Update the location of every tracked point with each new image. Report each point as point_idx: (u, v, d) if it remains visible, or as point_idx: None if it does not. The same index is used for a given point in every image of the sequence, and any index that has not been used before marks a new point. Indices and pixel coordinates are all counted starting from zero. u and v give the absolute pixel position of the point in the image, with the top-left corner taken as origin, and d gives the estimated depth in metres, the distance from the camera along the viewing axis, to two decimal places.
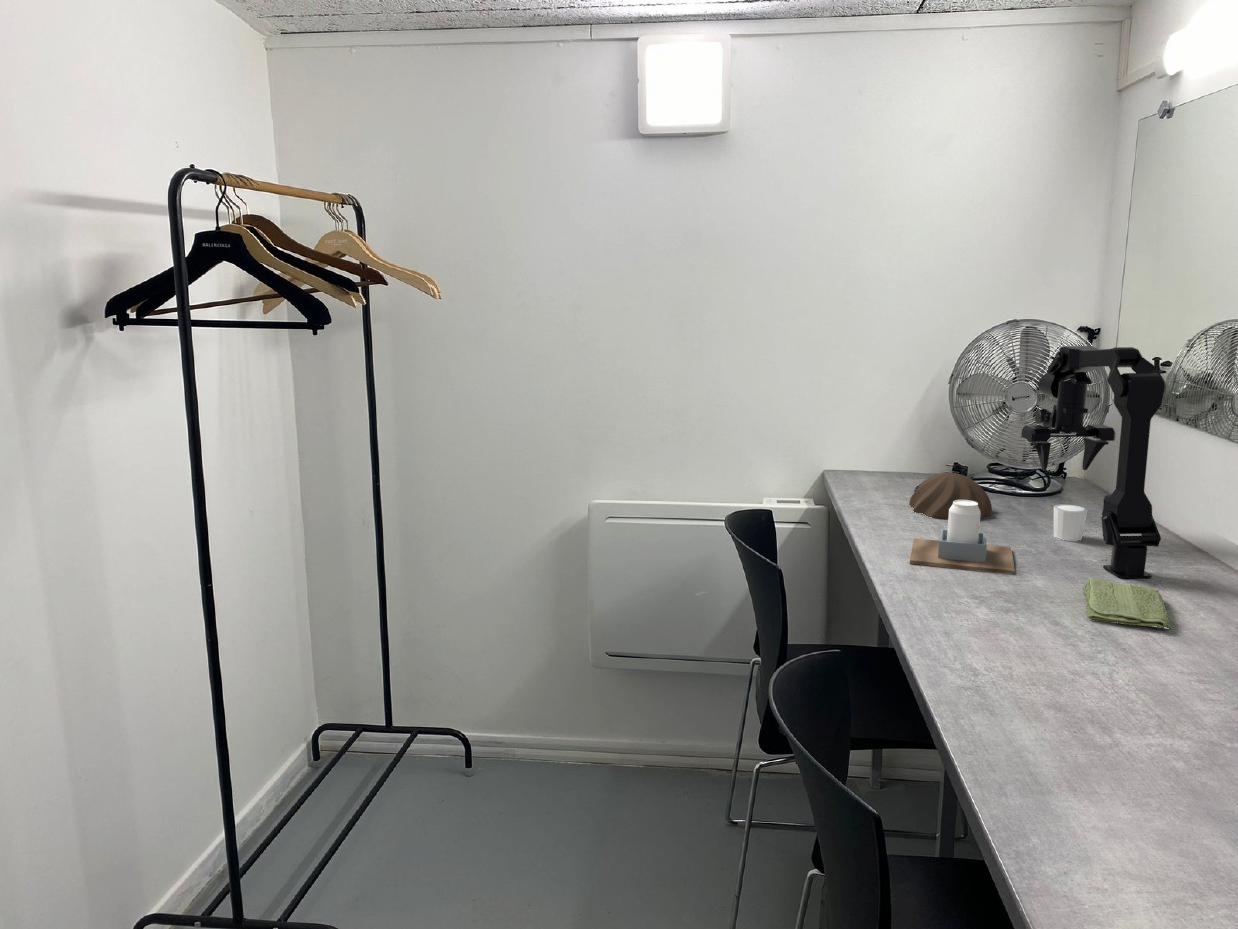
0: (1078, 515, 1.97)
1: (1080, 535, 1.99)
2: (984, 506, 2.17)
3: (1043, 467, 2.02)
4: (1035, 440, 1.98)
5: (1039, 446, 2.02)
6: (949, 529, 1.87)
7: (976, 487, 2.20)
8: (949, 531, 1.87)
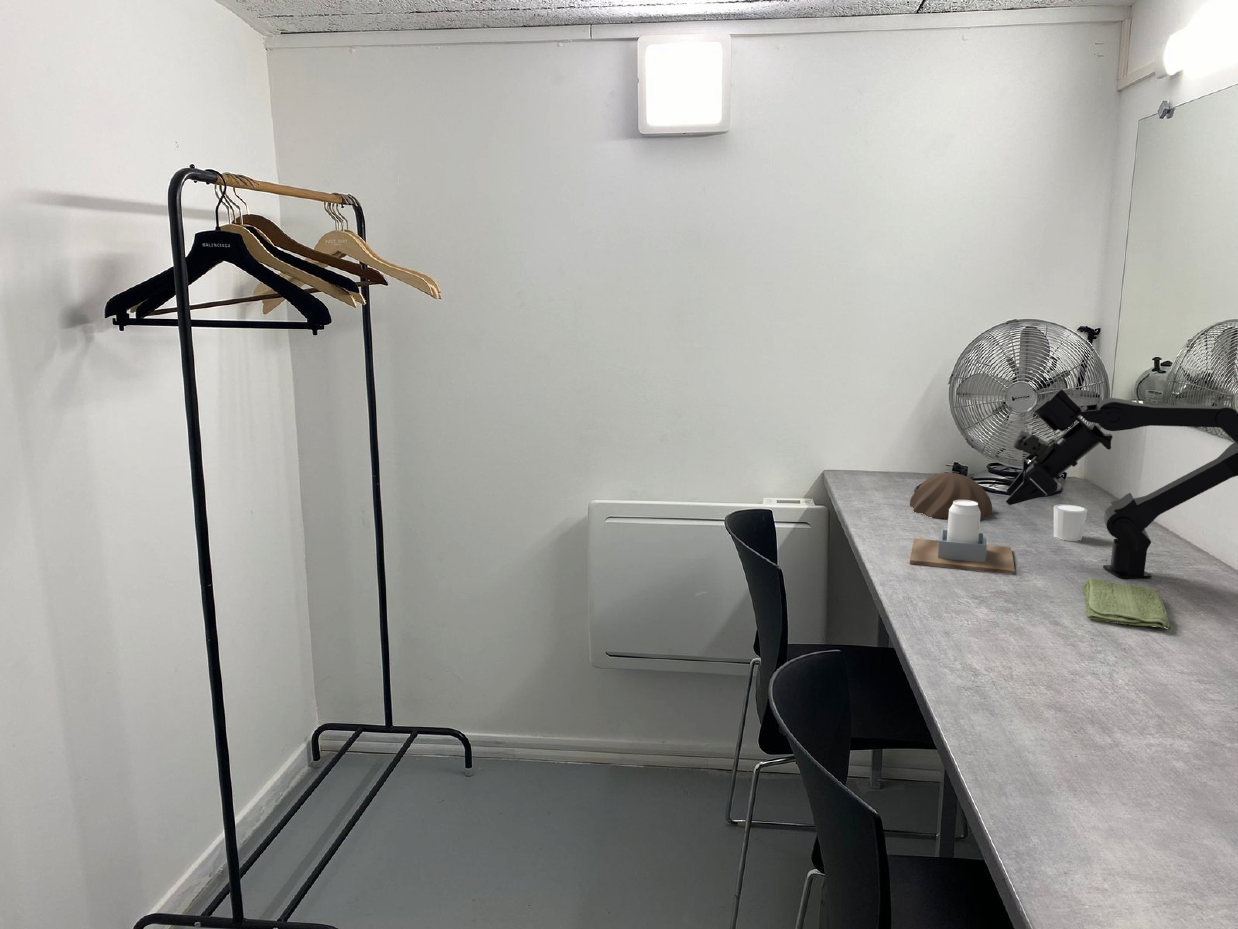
0: (1078, 515, 1.97)
1: (1080, 535, 1.99)
2: (984, 506, 2.17)
3: (1012, 502, 1.79)
4: (1050, 494, 1.73)
5: (1027, 485, 1.76)
6: (949, 529, 1.87)
7: (976, 487, 2.19)
8: (949, 531, 1.87)
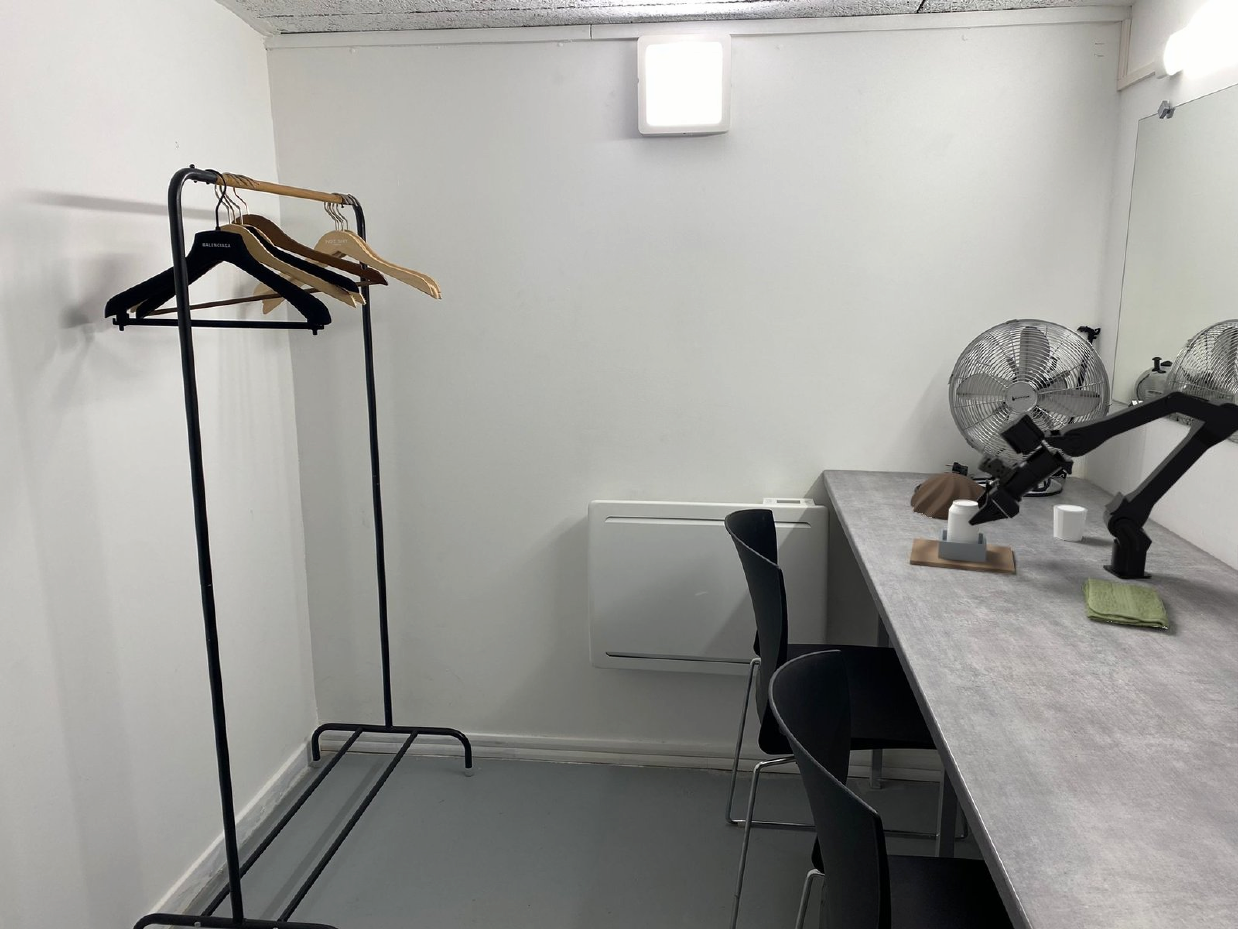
0: (1078, 515, 1.97)
1: (1080, 535, 1.99)
2: None
3: (974, 523, 1.82)
4: (1012, 517, 1.75)
5: (990, 507, 1.79)
6: (949, 529, 1.87)
7: (977, 487, 2.19)
8: (949, 531, 1.87)
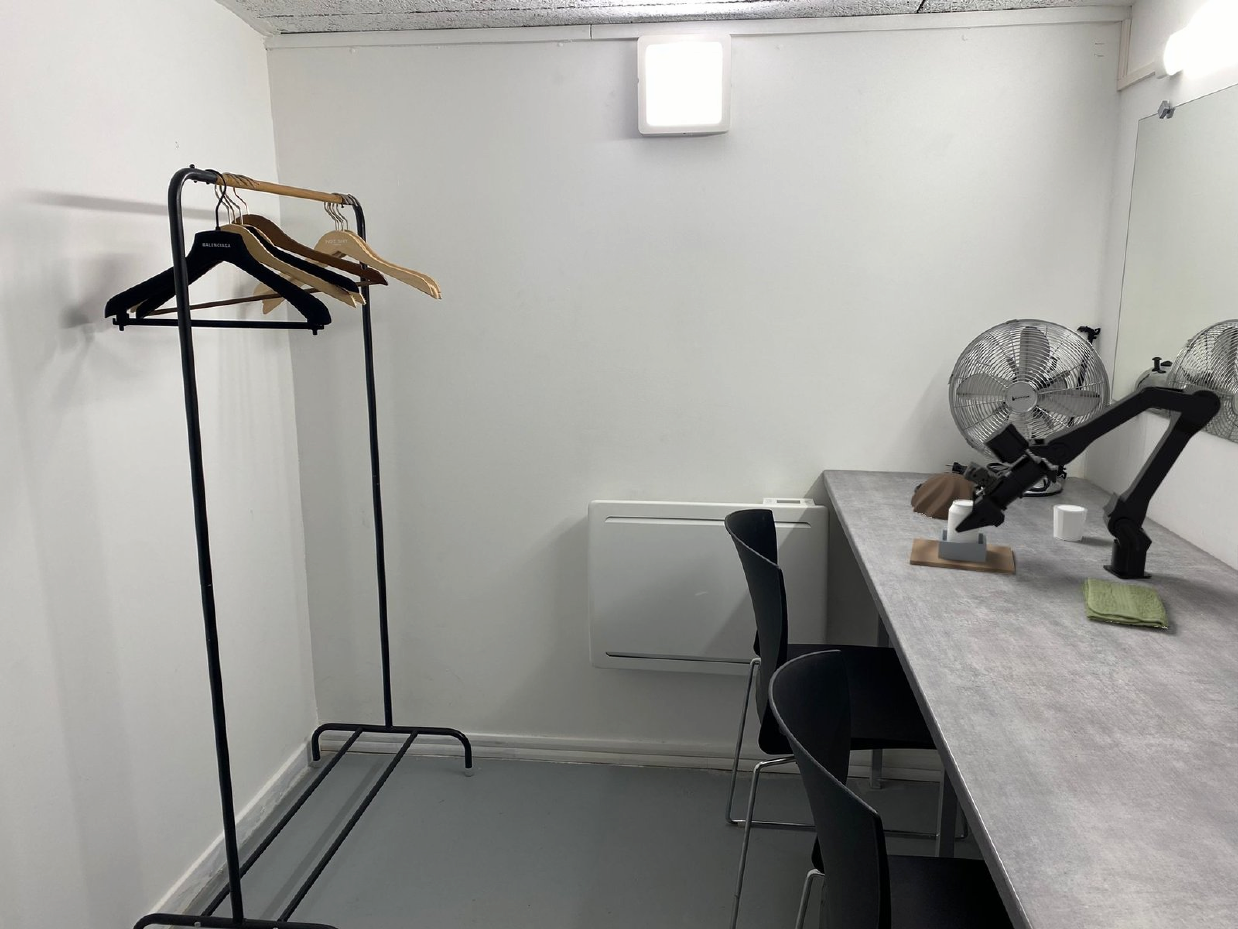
0: (1078, 515, 1.97)
1: (1080, 535, 1.99)
2: None
3: (960, 530, 1.84)
4: (997, 526, 1.77)
5: (975, 514, 1.81)
6: (949, 529, 1.87)
7: None
8: (949, 531, 1.87)
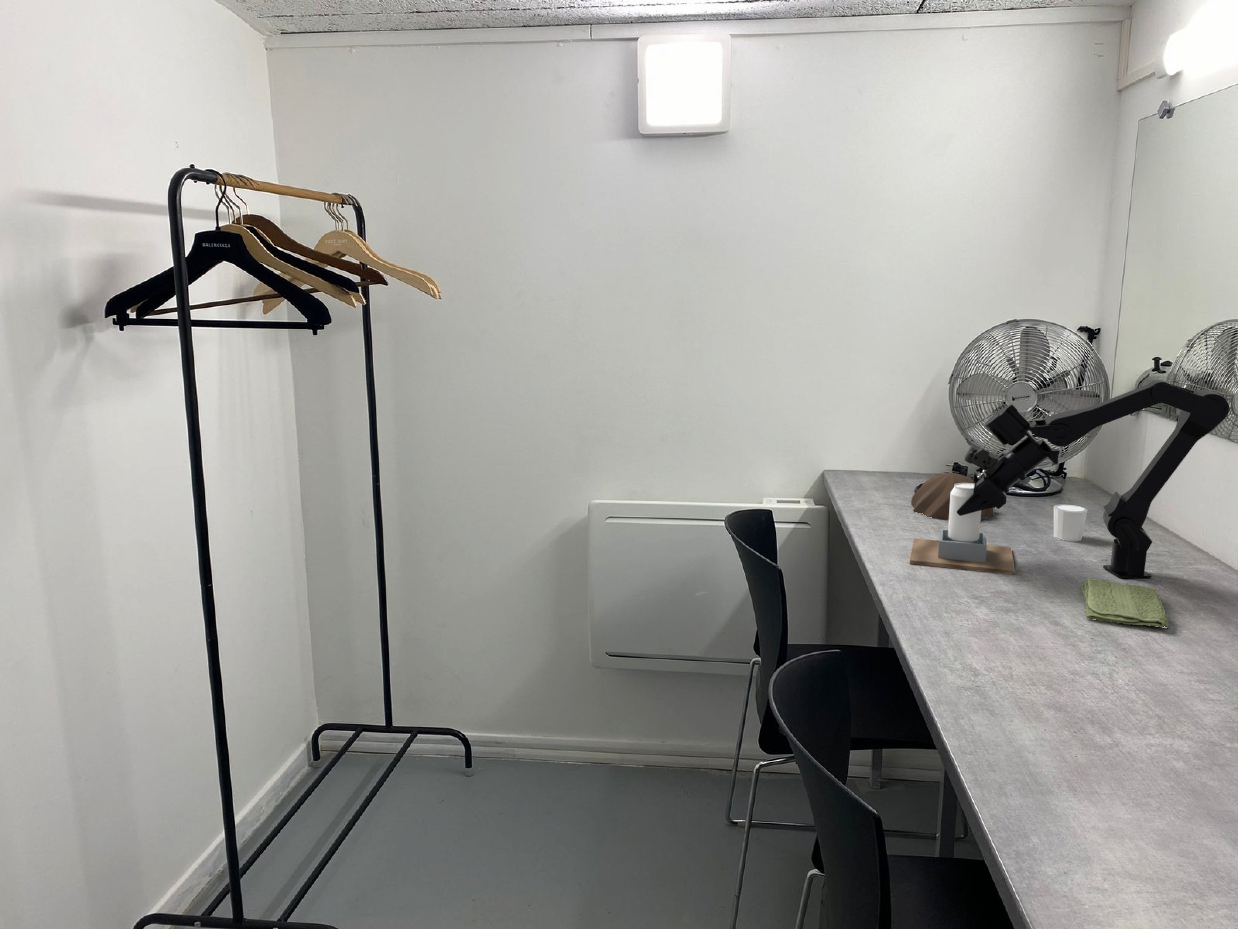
0: (1078, 515, 1.97)
1: (1080, 535, 1.99)
2: None
3: (962, 513, 1.83)
4: (999, 508, 1.76)
5: (977, 496, 1.81)
6: (951, 512, 1.86)
7: None
8: (951, 514, 1.86)
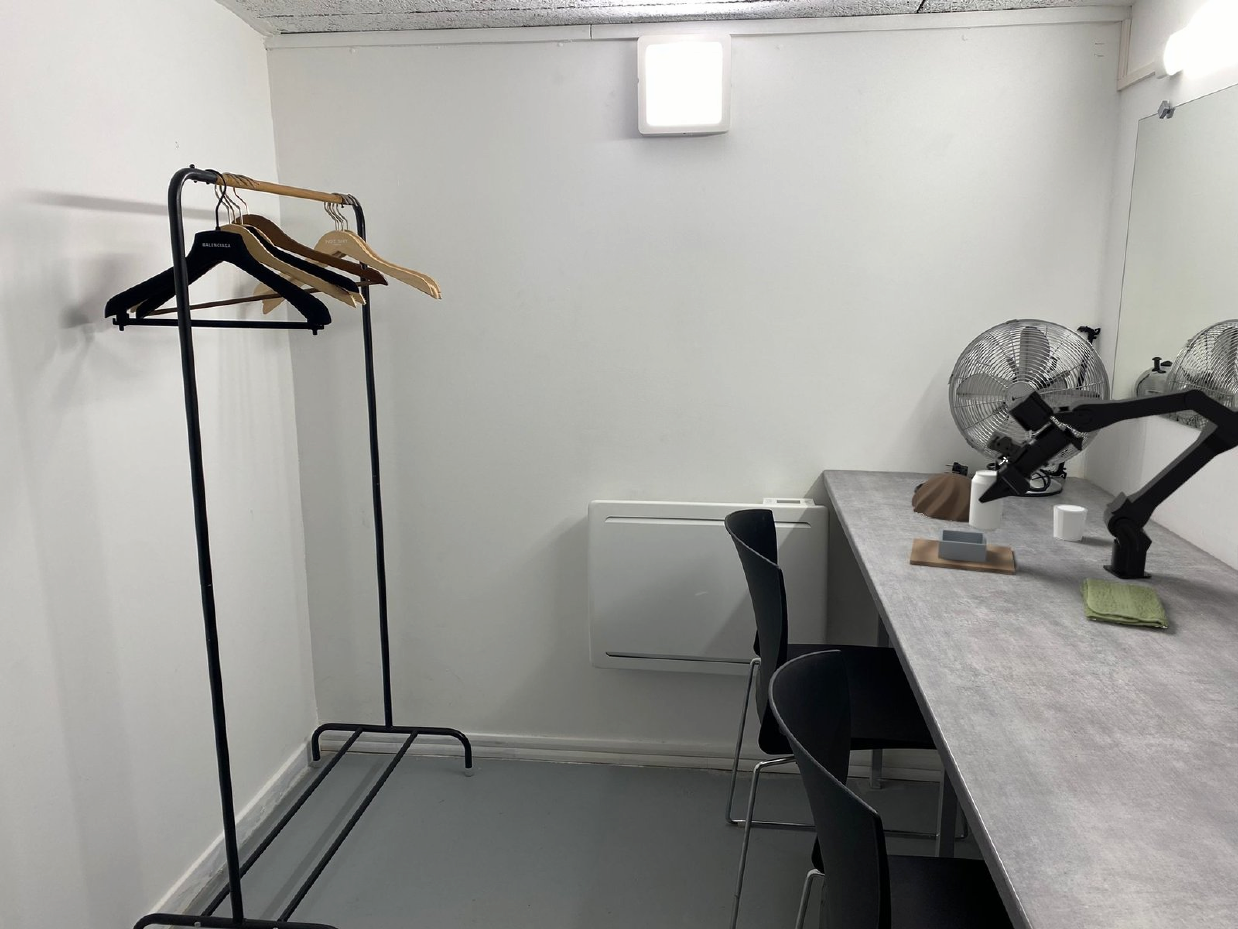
0: (1078, 515, 1.97)
1: (1080, 535, 1.99)
2: None
3: (984, 501, 1.81)
4: (1022, 495, 1.74)
5: (999, 483, 1.79)
6: (972, 500, 1.84)
7: None
8: (972, 502, 1.84)
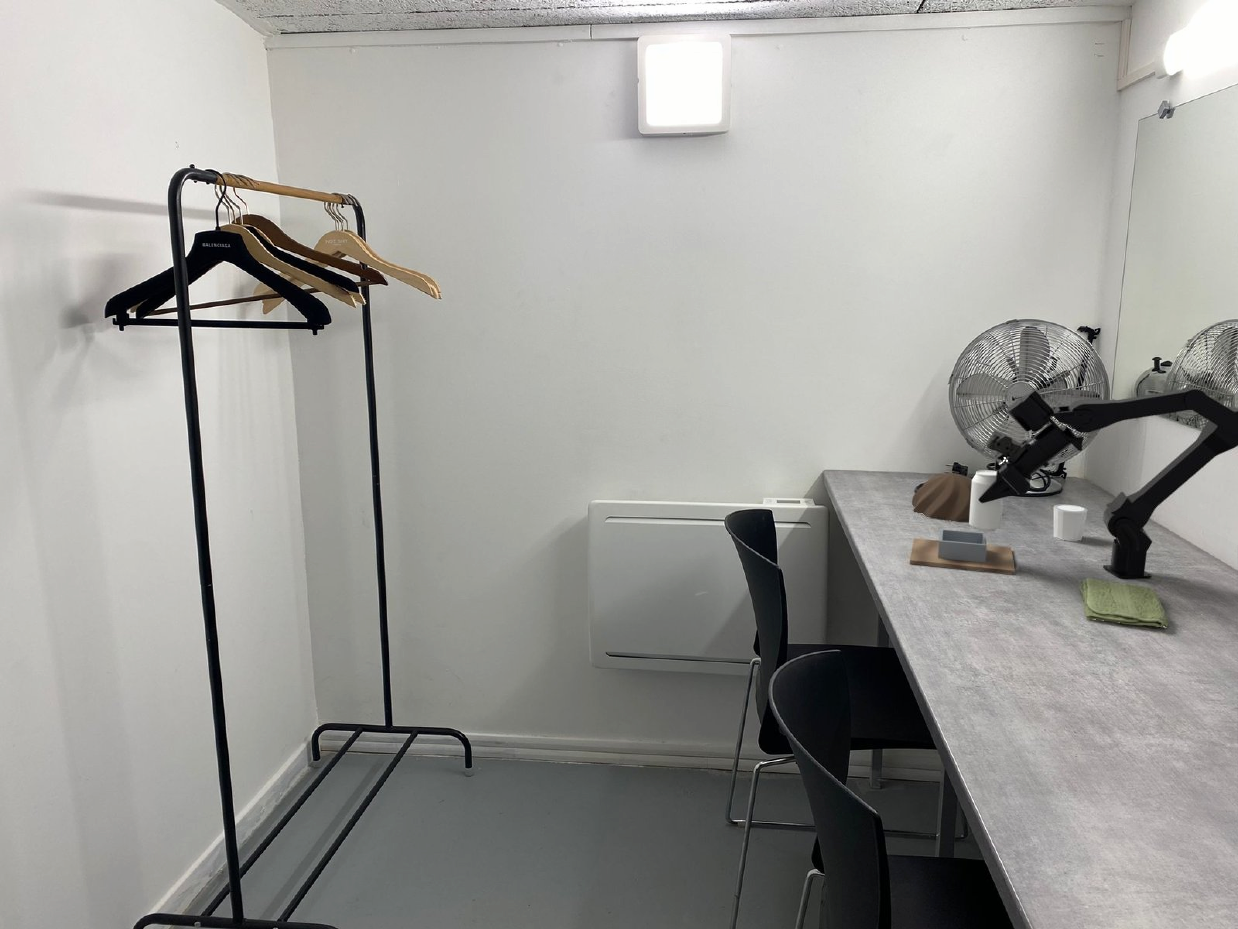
0: (1078, 515, 1.97)
1: (1080, 535, 1.99)
2: None
3: (984, 500, 1.81)
4: (1022, 495, 1.74)
5: (999, 483, 1.79)
6: (972, 500, 1.84)
7: None
8: (972, 502, 1.84)
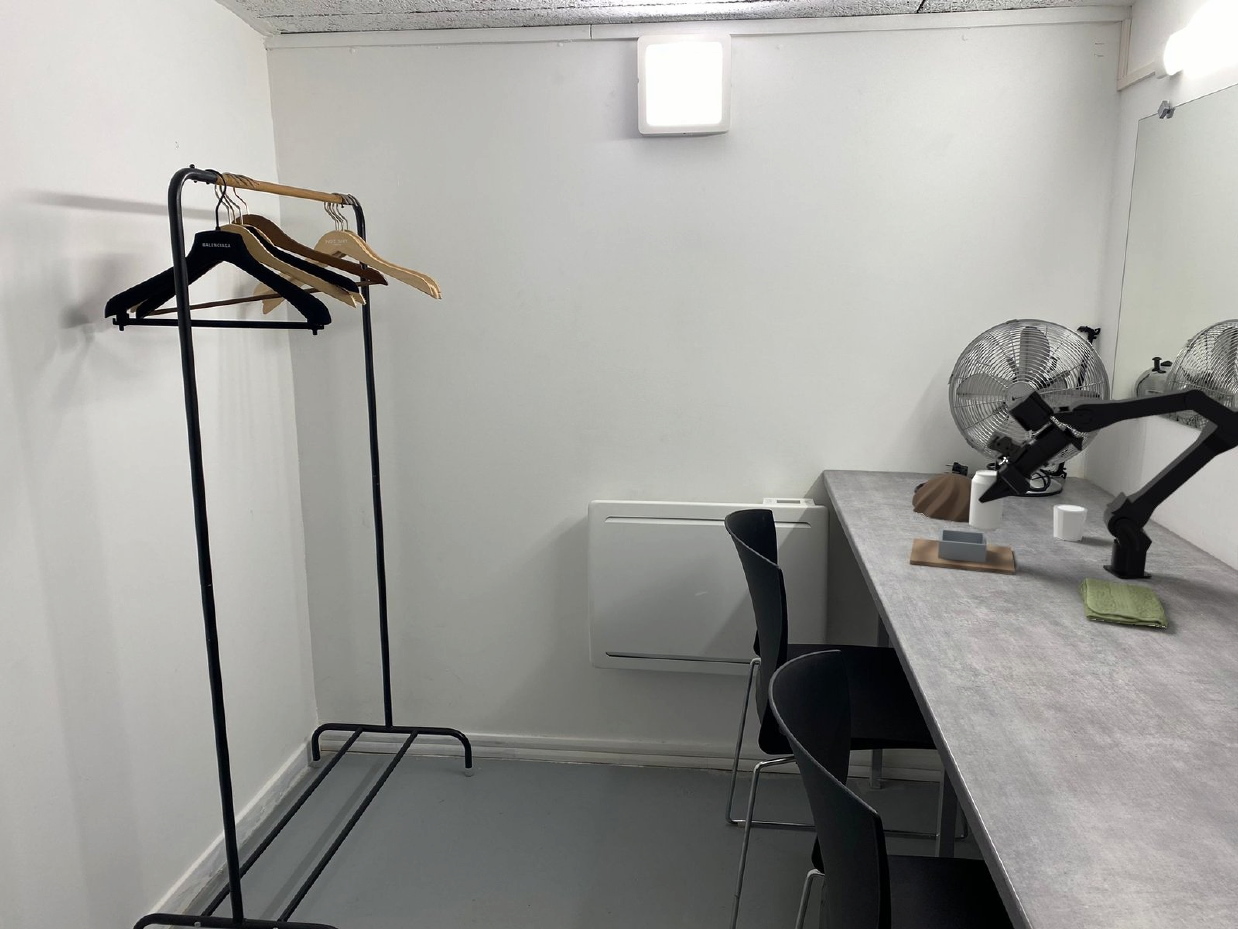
0: (1078, 515, 1.97)
1: (1080, 535, 1.99)
2: None
3: (984, 500, 1.81)
4: (1022, 495, 1.74)
5: (999, 483, 1.79)
6: (972, 500, 1.84)
7: None
8: (972, 502, 1.84)
